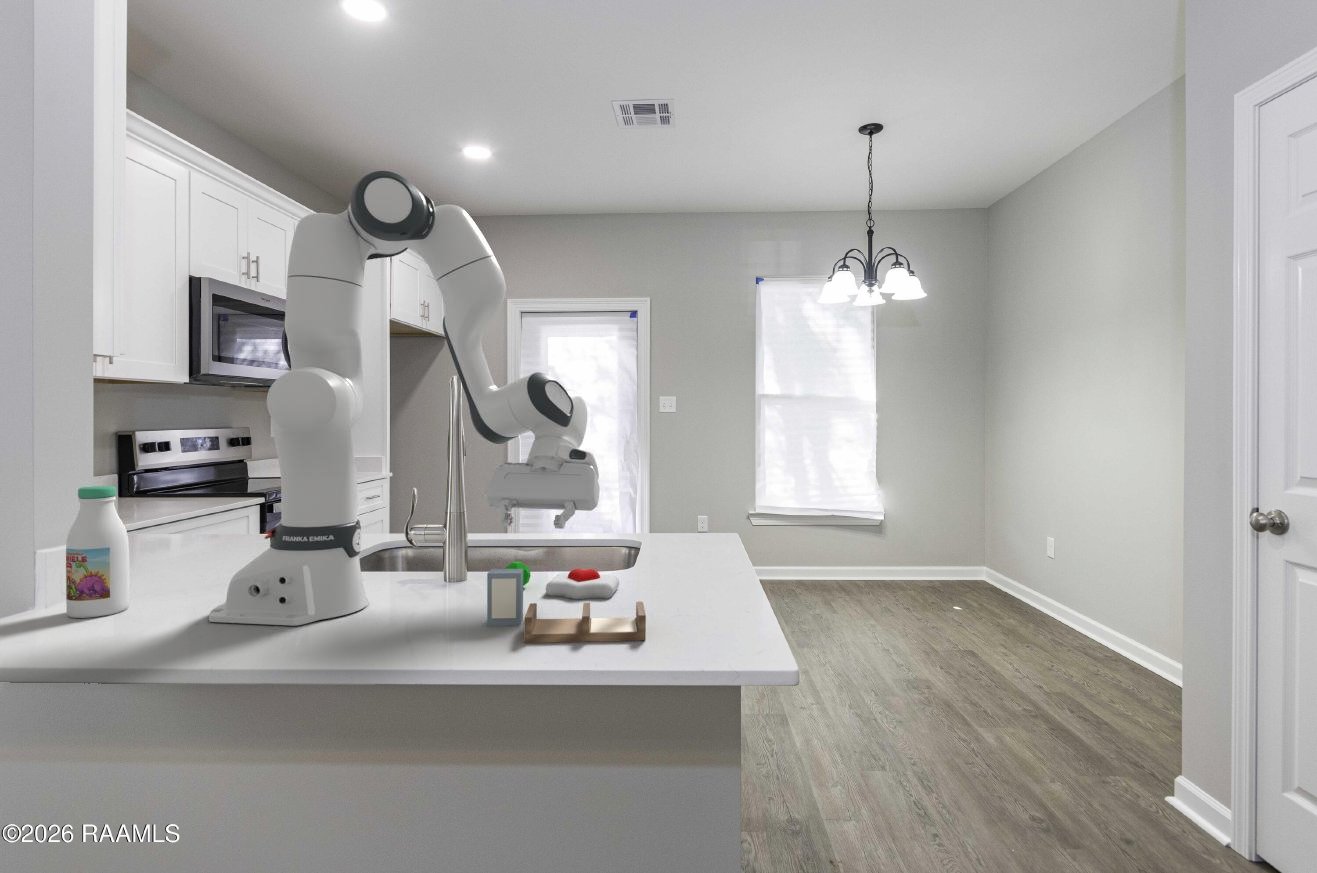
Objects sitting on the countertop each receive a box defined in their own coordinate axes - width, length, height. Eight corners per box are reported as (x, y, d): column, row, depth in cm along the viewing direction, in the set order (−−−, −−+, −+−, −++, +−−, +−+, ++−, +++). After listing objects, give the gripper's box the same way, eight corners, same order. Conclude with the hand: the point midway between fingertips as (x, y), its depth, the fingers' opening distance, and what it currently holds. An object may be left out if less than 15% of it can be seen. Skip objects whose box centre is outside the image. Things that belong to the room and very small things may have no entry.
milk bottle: (104, 603, 111) (102, 483, 110) (142, 607, 109) (140, 485, 108) (53, 617, 103) (51, 488, 103) (93, 621, 102) (91, 490, 101)
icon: (541, 576, 116) (556, 563, 126) (540, 600, 116) (556, 586, 126) (609, 579, 114) (620, 566, 124) (609, 603, 115) (620, 589, 125)
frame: (487, 626, 101) (487, 573, 100) (490, 620, 104) (490, 569, 104) (520, 625, 101) (520, 573, 101) (523, 619, 104) (523, 568, 104)
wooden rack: (524, 642, 93) (524, 617, 93) (529, 627, 100) (530, 603, 100) (645, 640, 95) (645, 615, 95) (642, 625, 102) (642, 601, 102)
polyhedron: (524, 592, 121) (525, 565, 120) (498, 591, 121) (498, 564, 121) (533, 585, 126) (533, 560, 125) (508, 584, 126) (508, 559, 126)
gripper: (492, 451, 122) (468, 512, 112) (601, 453, 118) (585, 516, 109) (502, 473, 126) (480, 534, 117) (607, 476, 123) (592, 538, 113)
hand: (531, 525), depth 113 cm, fingers open, 8 cm apart
